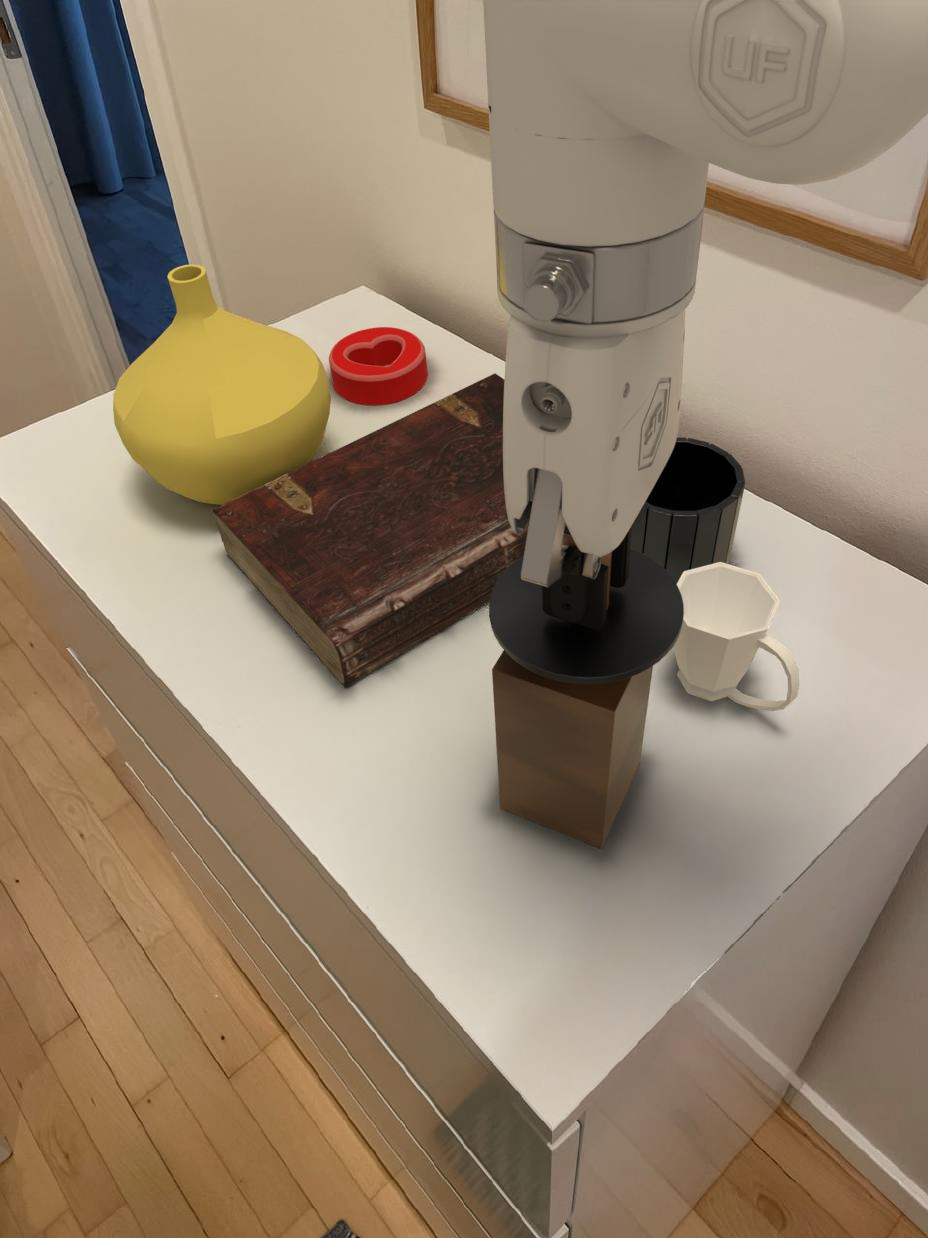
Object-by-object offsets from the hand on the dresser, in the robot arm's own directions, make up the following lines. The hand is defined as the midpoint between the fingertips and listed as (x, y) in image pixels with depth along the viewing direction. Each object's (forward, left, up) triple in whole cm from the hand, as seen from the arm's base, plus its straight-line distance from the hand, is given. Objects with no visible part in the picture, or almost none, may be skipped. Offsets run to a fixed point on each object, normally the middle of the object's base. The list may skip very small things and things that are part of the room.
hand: (585, 595), depth 48 cm
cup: (-6, -12, -18) cm, 23 cm away
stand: (0, 0, -18) cm, 18 cm away
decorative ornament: (+36, -37, -18) cm, 55 cm away
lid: (0, 0, -1) cm, 1 cm away
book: (+20, -18, -18) cm, 33 cm away
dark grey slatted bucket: (+1, -23, -18) cm, 29 cm away
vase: (+41, -19, -18) cm, 48 cm away
